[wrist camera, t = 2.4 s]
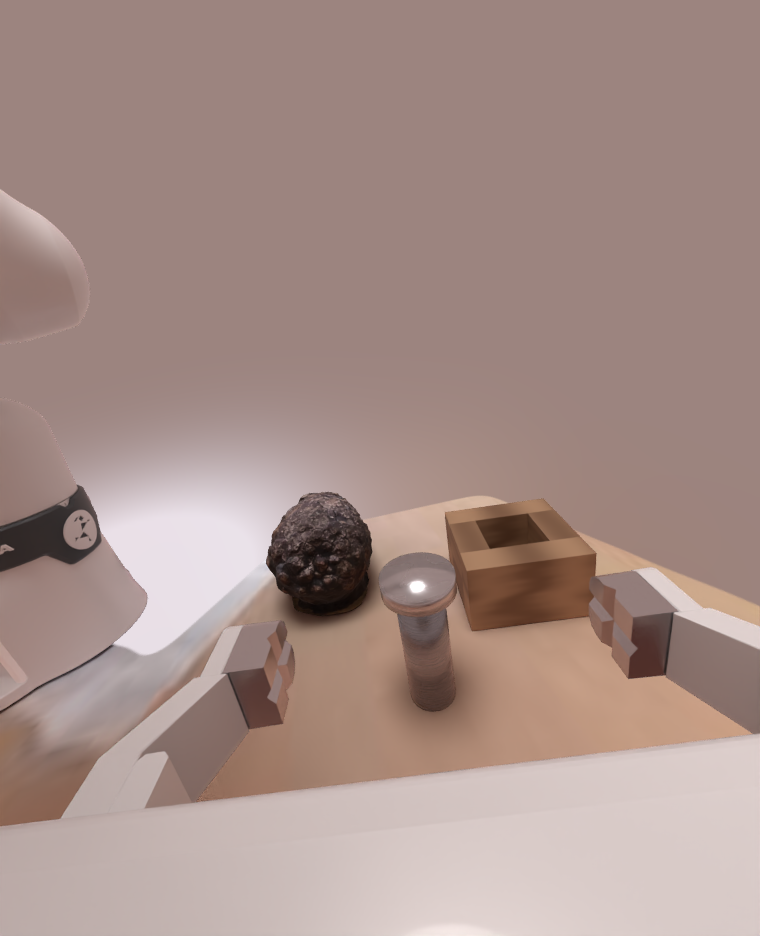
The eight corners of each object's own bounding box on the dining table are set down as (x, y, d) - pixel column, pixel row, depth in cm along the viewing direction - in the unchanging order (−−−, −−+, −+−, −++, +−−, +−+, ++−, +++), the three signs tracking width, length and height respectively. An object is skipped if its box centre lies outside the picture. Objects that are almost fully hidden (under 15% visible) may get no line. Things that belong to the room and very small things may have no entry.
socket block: (472, 631, 32) (466, 570, 30) (449, 562, 42) (444, 512, 40) (593, 615, 32) (596, 553, 30) (543, 549, 41) (543, 498, 39)
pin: (401, 726, 26) (379, 605, 22) (397, 666, 30) (378, 557, 27) (474, 718, 26) (462, 594, 22) (459, 658, 30) (447, 548, 27)
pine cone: (356, 525, 53) (342, 456, 49) (392, 609, 37) (376, 514, 33) (279, 545, 51) (259, 474, 48) (281, 643, 35) (251, 546, 31)
